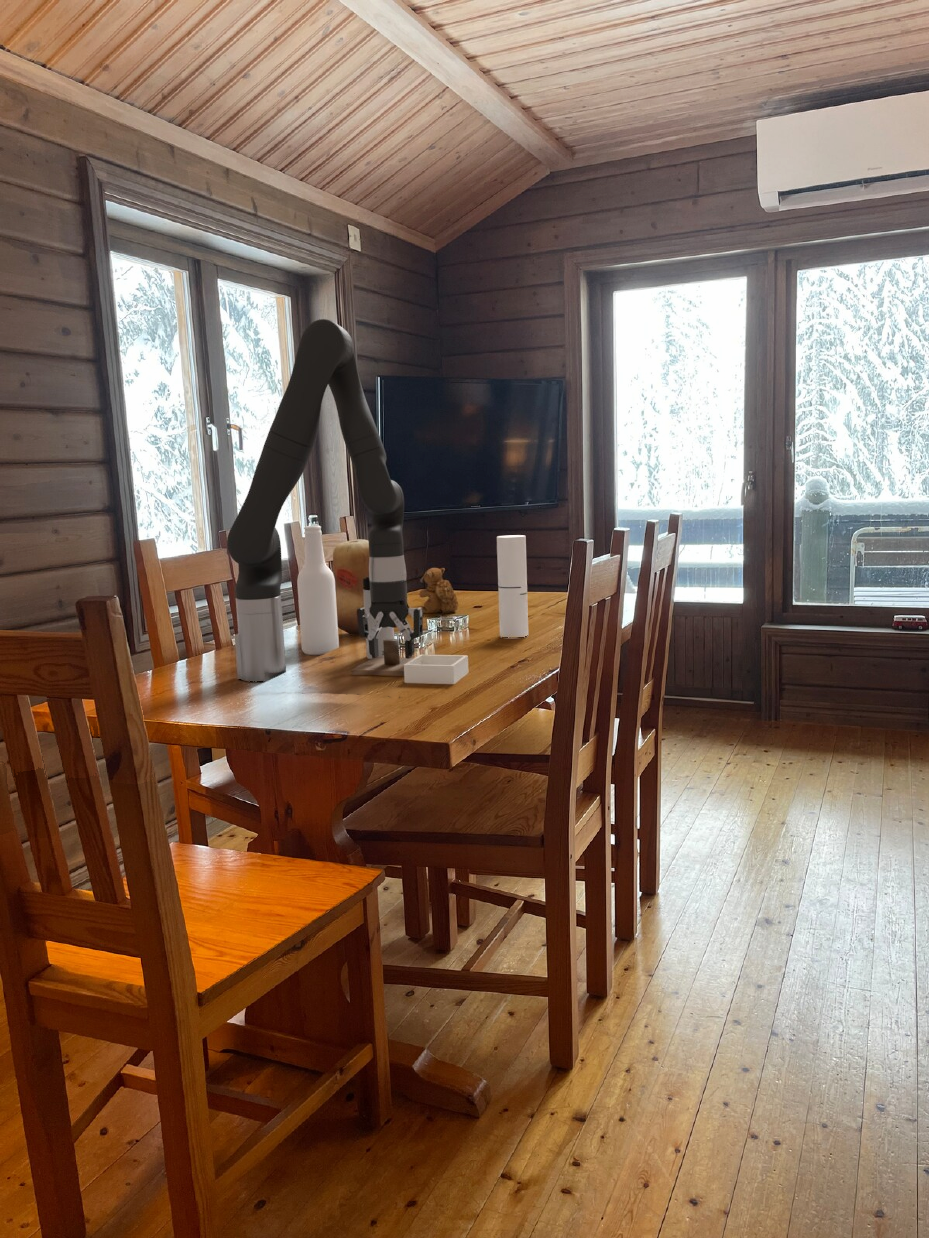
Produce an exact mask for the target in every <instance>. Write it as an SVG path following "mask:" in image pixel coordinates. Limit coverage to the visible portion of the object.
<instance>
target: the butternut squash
mask: <svg viewBox="0 0 929 1238" xmlns="http://www.w3.org/2000/svg"><path fill="white" fill-rule="evenodd" d="M332 552H333V553H332V562H333V563H332V564H333V565H332V568H333V569H332V570H333V571H332V572H333V575H334V578H335V586H336V607H337V624H338V630H339V629H340V630H341V631H343V632H345V633H347V635H348V634H349V635H350V636H359V637H360V635H359V628H358V620H357V609H359V608H362V607H364V596H363V593H364V592H363V586H364V585H363V579H366V577H369V557H370V556H369V539H368V540H367V539H361V538H359V539H358V538H357V539H353V540H351V539H350V540H347V541H344V542H340V543H339V544H337V545H336V546H335V548H334V549H333V551H332Z"/></svg>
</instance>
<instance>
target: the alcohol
mask: <svg viewBox="0 0 929 1238" xmlns="http://www.w3.org/2000/svg"><path fill="white" fill-rule="evenodd" d="M303 529H304V533H303V534H304V564H303V567H302V568H301V570H300V571H299V572H298V575H297V580H296V582H297V596H298V613H299V626H300V627H299V628H300V641H301V643H300V645H301V651H302V652H303V653H304V654H305V655H308V656H310V655H311V656H322V655H325V654H328V653H330V652H333V651H334V650H337V649H338V648H340V641H339V628H338V624H337V607H336V592H337V590H336V581H335V578H334V572H333V571H332V570H331V569H330V568H329V566H328V565H327V564H326V559H325V553H324V547H323V546H324V545H323V538H322V534H323V532H322V526H321V525H308V526H307V525H306V526H304V527H303Z"/></svg>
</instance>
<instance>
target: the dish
mask: <svg viewBox="0 0 929 1238" xmlns="http://www.w3.org/2000/svg"><path fill="white" fill-rule="evenodd" d="M413 658H414V659H412V660H411V661H409V662H408V663H406V664H404V676H403V677H404V679H403V680H404V684H428V685H429V684H431V685H434V684H435V685H455V684H456V683H458V682H459V681H460V680H462V678H464V677H466V675H468V674H469V656H468V655H466V654H465V655H464V654H463V655H461V654H419V655H417V656H415V657H413Z"/></svg>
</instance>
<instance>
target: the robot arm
mask: <svg viewBox="0 0 929 1238" xmlns="http://www.w3.org/2000/svg"><path fill="white" fill-rule="evenodd" d="M299 340H300V341H299V343H298V344H299V345H298V348H297V351H296V356H295V359H294V364H293V367H292V371H291V375H290V377H289V381H288V383H287V387H286V389H285V391H284V393H283V395H282V399H281V400H280V403H279V406H278V409H277V411H276V413H275V416H274V419H273V421H272V423H271V425H270V428H269V430H268V433H267V436H266V439H265V442H264V444H263V447H262V450H261V453H260V456H259V459H258V461H257V465H256V468H255V470H254V473H253V477H252V479H251V482H250V483H251V484H250V487H249V489H248V493H247V494H246V497H245V500H244V501H243V503H242V506H241V508H240V510H239V511H238V514H237V515H236V518H235V519H234V522H233V523H232V525H231V527H230V530H229V532H228V534H227V538H226V547H227V551H228V553H229V556H230V558H232V560H233V561H234V562H235V563H237V564H238V575H237V580H236V582H235V586H234V593H235V606H236V608H235V609H236V620H237V632H238V633H236V634H234V644H235V645H234V646H235V647H234V649H235V658H236V661H235V662H236V671H237V672H236V673H237V680H238V679H241V680H242V681H245V682H250V681H253V682H252V683H258V682H257V681H263V682H269V681H271V680H273V679H275V678H277V677H279V676H282V675H283V674H285V673H287V665H286V663H287V662H286V651H285V650H286V648H285V637H284V636H285V635H284V624H283V623H284V621H283V605H282V593H281V586H282V580H283V568H282V567H283V563H282V562H283V559H282V546H281V545H282V544H281V537H280V535H279V532H278V530H277V528H276V526H277V525H276V524H277V522H278V518H279V515H280V513H281V511H282V508H283V505H284V504H285V502H286V501H287V499H288V498H289V496H290V495H291V492H292V491H294V488H296V487H295V486H297V483H298V482H299V480H300V478H302V476H303V473H304V471H305V469H306V468H307V465H308V463H309V459H310V458H311V455H312V452H313V449H314V446H315V444H316V440H317V437H318V433H319V425H320V418H321V410H322V409H321V408H322V404H323V403H322V402H323V399H324V395H325V393H326V389H327V388H328V387H329V389H330V391H331V394H332V397H333V399H334V403H335V407H336V413H337V416H338V423H339V426H340V431H341V435H342V439H343V441H344V444H345V446H346V447H345V448H346V449H347V452H348V455H349V458H350V461H351V463H352V465H353V467H354V468H353V469H354V472H355V473H354V474H355V479H356V483H357V486H358V487H357V488H358V492H359V495H360V498H361V500H362V501H361V502H362V503H363V505H364V506H365V508H366V510H368V512H370V513H371V529H370V530H369V531H368V541H369V556H370V557H369V580H370V597H371V606H370V608H365V607H362V608H359V609H357V620H358V628H359V635H360V636H359V637H361V638H365V639H366V638H367V639H368V641H369V653H370V655H372V658H377V657H378V656H379V649H378V639H376V637H377V635H378V633H379V631H380V630H381V629H382V628H385V627H392V628H394V629H395V628H397V629H398V631H399V632H400V633H401V634H402V636H403V637H404V638H405V641H404V652H405V653H404V654H405V657H404V658H406V659H410V658H413V656H414V655H415V639H417V638H419V637H421V636H423V634H424V613H423V609H422V608H421V607H422V606H420V607H410V606H409V604H408V586H407V585H408V583H407V575H408V574H407V568H406V562H405V555H404V550H405V549H404V537H403V526H404V517H405V514H404V513H405V497H404V492H403V489H402V487H401V486H400V485H399V484H398V482H396V481H395V480H393V479H391V477H390V474H389V471H388V467H387V465H386V462H387V453H386V450H385V447H384V445H383V442H382V439H381V436H380V433H379V430H378V428H377V425H376V423H375V420H374V418H373V415H372V412H371V410H370V406H369V404H368V402H367V399H366V396H365V393H364V389H363V387H362V382H361V378H360V374H359V368H358V364H357V360H356V359H357V358H356V354H355V348H354V342H353V339H352V337H351V335H350V334H349V332H348V330H346V329H345V328H344V327H342V326H341V325H339V324H338V323H337V322H335V321H333V320H330V319H327V318H320V319H316V320H314V321H312V322H311V323H309V324H308V326H307V327H305V329H304V331H303V332H302V334H301V337H300V339H299ZM369 613H370V614H371V615H372V616H373V618H374V619H375V621H374V623H373V625H372V627H371V630H370V631H369V629H368V620H367V618H368V617H369ZM409 614H410V617H411V619H413V630H412V628H411V624H410V623H409V622H408V620H407V618H408V615H409ZM241 680H240V681H241ZM254 681H255V682H254Z"/></svg>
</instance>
